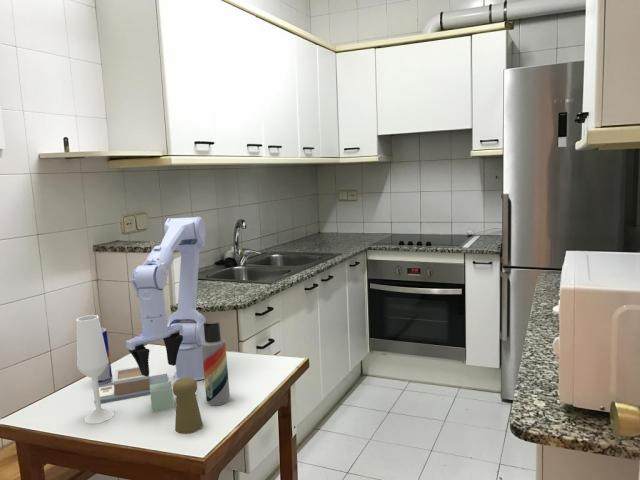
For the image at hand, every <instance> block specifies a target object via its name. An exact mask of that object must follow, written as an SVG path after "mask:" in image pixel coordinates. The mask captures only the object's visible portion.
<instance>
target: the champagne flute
mask: <svg viewBox="0 0 640 480" xmlns="http://www.w3.org/2000/svg"><path fill="white" fill-rule="evenodd" d="M75 323H76V362H77V363H76V364H77V365H76V366H77V369H78V371H79V372H80V373H81V374H83V375H84V376H86V377H87V378H90V379H91V380H92V381H91V383H92V389H93V397H94V401H95V402H94V405H95V406H94V407H95V410H93V411H92V412H91V413H89V414H88V415H86V416H85V418H84V420H83V421H84V423H87V424H98V423H103V422H106V421H108V420H110V419H112V418H114V416H115V412H114V411H113V410H110V409H106V408H102V403H101V402H100V394H99V386H98V378H97V377H98V376H100V375H101V373H102V372H103V371H104V370H105V369H106V367H107V365H108V357H107V352H106V348H105V343H104V339H103V334H102V330H101V328H102V326H101V323H100V319H99V315H98V314H96V315H95V314H89V315H84V316H83V315H82V316H80V317H78V318H76V319H75Z"/></svg>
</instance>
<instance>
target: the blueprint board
mask: <svg viewBox="0 0 640 480" xmlns="http://www.w3.org/2000/svg"><path fill="white" fill-rule="evenodd" d="M168 376H169V375H168V373H162V374H156V375H149V376H143V375H142V374H141V371H140V369H139V366H138V365H137V366H132V367H126V368H121V369H120V368H119V369H115V370H114V376H113V382H109V383H108V384H102V385H98V386H99V394H100V402H101V404H105V403H112V402H116V401H121V400H127V399H133V398H139V397H145V396H151V395H150V385H152V384H158V383H164V382H169V377H168ZM93 403H95V400H94V402H93Z"/></svg>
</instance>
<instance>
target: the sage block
mask: <svg viewBox="0 0 640 480" xmlns="http://www.w3.org/2000/svg"><path fill="white" fill-rule="evenodd" d="M149 396H150V402H151V410H152V411H151V412H152V413H157V412H161V411H166V410H173V409H175V403H174V392H173V385H172V381H171V380H170V381H169V380H168V382H164V383H158V384H152V385H150V395H149Z"/></svg>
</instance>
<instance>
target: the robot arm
mask: <svg viewBox="0 0 640 480" xmlns="http://www.w3.org/2000/svg"><path fill="white" fill-rule="evenodd" d="M163 226H164V227H163V229H164V236H163V238H162V240H161V242H160V244H159V245H155V246H154V247H153V248H152V249H151V251H150V252H149V254H148V256H147V258H146V259H145V260H144V262H143V264H142V265H138V266H137V267H136V268H134V269H133V271H132V276H131V284H132V287H133V289H134V291H135V296H136V297H137V298H138V303H139V312H140V322H141V323H140V324H141V331H142V332H141V333H140V334H139V335H137V336H135V337H133V338H131V339H128V340H127V339H126V340H125V343H126V344H125V346H126V349H127V350H128V352H129V353H130V354H131V356H132V357H133V358H134V361H135V362H136V364H137V367H138V366H139V369H140V371H141V374H142V375H143V376H150V366H149V359H150V358H149V356H150V351H151V350H150V349H149V348H147V347H146V346H145V345H148V344H152V343H154V342H158V341H160V340H163V343H164V347H165V351H166V359H167V364H168V365H170V366H173V367H174V366H175V370H176V371H175V372H174V377H175V381H177V380H179V379H181V378H193V379H194V380H195V381H196V382H197V381H200V380H201V381H202V380H204V369H203V358H202V347H201V343H202V341H204V340H205V337H204V325H203V324H204V323H205V322H207V321H206V319H207V318H206V317H205V316H204V315H203V314H202V313H200V312H199V311H198V310H197V301H198V300H197V298H198V296H197V295H198V281H199V279H198V278H199V262H200V260H199V259H200V251H201V250H202V249H204V248H205V246H206V245H205V244H206V234H207V233H206V231H207V230H206V229H207V228H206V224H205V221H204V219H203V218H202V216H194V217H193V216H192V217H174V218H173V217H168V218H167V219H166V221H165V222H164V225H163ZM176 250H177V251H178V252H180V267H179V279H178V280H179V281H178V283H179V284H178V296H177V297H178V298H177V310H176V311H174V312H173V313H172V314H170V315H169V316H168V320H167V313H166V311H167V310H166V303H165V293H164V291H165V290H164V288H165V287H166V285H167V281H168V276H169V269H170V267H171V265H172V264H173V263H174V262H173V261H174V260H175V255H174V252H175V251H176Z"/></svg>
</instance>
